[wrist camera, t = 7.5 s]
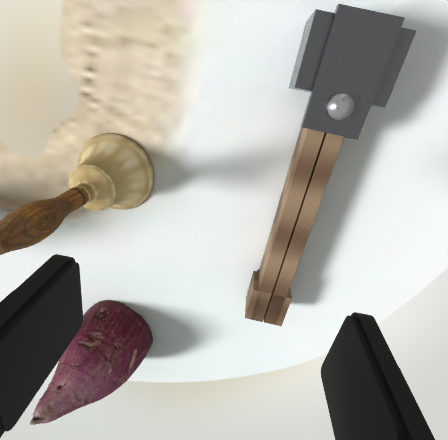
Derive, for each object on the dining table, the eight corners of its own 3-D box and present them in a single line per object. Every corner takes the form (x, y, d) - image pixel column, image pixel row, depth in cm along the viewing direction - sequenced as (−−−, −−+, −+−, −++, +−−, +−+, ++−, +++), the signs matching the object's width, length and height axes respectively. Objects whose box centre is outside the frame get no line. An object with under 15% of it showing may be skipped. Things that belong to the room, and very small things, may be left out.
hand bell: (123, 222, 34) (21, 323, 19) (65, 170, 32) (-96, 238, 17) (170, 176, 31) (92, 254, 16) (109, 115, 29) (-41, 142, 14)
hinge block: (307, 16, 24) (321, -3, 19) (392, 34, 24) (428, 20, 19) (280, 117, 27) (286, 124, 22) (354, 133, 27) (376, 144, 22)
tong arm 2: (299, 110, 26) (304, 113, 23) (321, 114, 26) (329, 118, 23) (246, 297, 36) (245, 317, 33) (262, 301, 36) (262, 321, 33)
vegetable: (92, 324, 46) (-8, 416, 33) (101, 281, 40) (-15, 372, 28) (147, 362, 44) (63, 475, 32) (164, 323, 39) (71, 441, 26)
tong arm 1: (323, 115, 26) (331, 119, 23) (344, 119, 26) (356, 124, 23) (263, 301, 36) (263, 322, 33) (279, 305, 36) (281, 326, 33)
